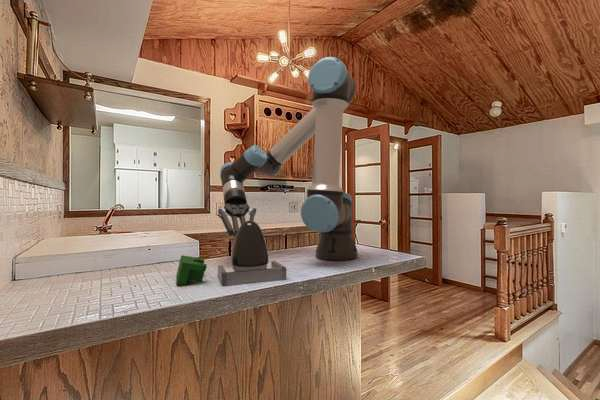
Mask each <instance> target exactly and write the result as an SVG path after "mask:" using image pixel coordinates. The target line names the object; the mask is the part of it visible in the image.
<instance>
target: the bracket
mask: <svg viewBox="0 0 600 400" xmlns="http://www.w3.org/2000/svg"><path fill="white" fill-rule="evenodd" d="M270 263H271V265H270V266H271V267H270V268H269V267H267V268H266V269H256V270H245V271H234V270H233V271H226V269H225V268H224V266H223V265H221V264H220V265H217V277H218V280H219V282H220V284H221V286H222V287H225V286H226V287H227V286H236V285H245V284H254V283H256V284H257V283H262V282H263V283H264V282H273V281H282V280H283V281H285V280H287V267H286V266H284V265H283V264H281V263H280V262H278V261H277V260H271V261H270Z"/></svg>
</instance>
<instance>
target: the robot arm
mask: <svg viewBox="0 0 600 400" xmlns="http://www.w3.org/2000/svg"><path fill="white" fill-rule="evenodd" d="M307 79H308V81H307V82H308V84H309V87H310V89H311V91H312V99H311V106H312V108H311V109H310V110H309V111H308V112H307V113H306V114H305V115H304V116H303V117H302V118H301V119H300V120H299V121H298V122H297V123H296V124H295V125H294V126H293V127H292V128H291V129H289V131H288V132H287V133H286V134H284V136H283V137H281V139H279V140H278V141H277V143H275V145H273V147H271V148H270V150H269V151H267V152H265V151H264V149H262V148H261V147H260V146H259V145H256V144H254V145H251V146H250V147H249V148H247V149H246V150H245V151H244V152H243V153H242V154H241V155H240V156H239V157H238V158H237V159H235V160H234V161H233V162H232V161H228V162H226V163H223V164H222V165H221V166H220V172H219V173H220V176H219V177H220V181H221V186H222V187H221V189H222V195H223V203H224V206H223V208H219V209H217V216H218V217H219V218H220V219H221V222H222V224H223V225H224V228H225V230H226V232H227V234H228V235H229V236H233V238H234V239H235V238H236V234H237V232H238V230H239V228H240V226H241V225H242V224H243V223H244V222H246V221H247V220H246V215H247V214H248V215H249V219H248V221H254V220H255V216H256V213H257V208H255V207H253V208H251V207H250V206H249V204H248V202H247V196H246V192H245V187H244V181H246V180H247V179H248V178H250V176H252V175H253V174H258V175H264V176H268V177H269V176H271V177H272V176H277V175H278V174H279V173H281V169H282V165H284V163H286V162H288V161H287V160H289V159H290V158H291V157H292V156H293V155H295V153H296V152H298V150H300V149H301V148H302V147H303V146H304V145H305V144H306V143H307V142H308V141H310V140H311V139H312V138H313V136H314V146H313V147H314V148H313V165H312V182H311V185H310V186H309V187H307V189H306V190H307V191H306V199H305V200H304V201H303V202H302V205H301V207H300V216H301V220H302V222H303V224H304V225H305V227H307V228H308V229H309V230H310V231H313V232H315V233H320V234H319V240H318V243H317V246H316V248H315V258H317V259H320V260H325V261H350V260H349V259H352V260H355V259H354V258H356V259H357V258H359V257H358V255H359V254H358V248H357V245H356V243H355V239H354V237H353V204H354V203H353V198H352V195H351V194H350V193H348V192H344V190H343V189H342V188H341V186H340V173H341V170H340V169H341V155H342V153H341V152H342V150H341V149H342V137H343V135H342V134H343V120H344V111H346V109H347V108H348V107H349V106H350V104H352V103H353V100H354V98H355V96H356V91H357V86H356V81H355V80H354V78H353V76H351V74H350V72H349V71H348V68H347V66H346V64H345V63H344V62H342V61H341V60H340V59H339V58H337V57H334V56H326V57H323V58H321V59H318V60H317V61H316V62H315V63H314V64H313V65H311V68H310V70H309V72H308V77H307ZM228 216H230V218H231V221H232V223H231V221H230V219H229V217H228ZM238 218H239V220H238ZM238 222H240V226H239V223H238ZM254 222H255V221H254Z"/></svg>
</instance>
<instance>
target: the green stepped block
mask: <svg viewBox="0 0 600 400" xmlns="http://www.w3.org/2000/svg"><path fill="white" fill-rule="evenodd" d="M207 266H208V265H207V263H205V259H204V258H202V257H194V256H190V255H183V254H181V256H180V259H179V263H178V267H177V272H176V277H175V278H176V285H180V286H181V285H182V286H186V285H187V283H188V281H193V282H199V283H201V282H203V279H204V275H205V272H206V270H207Z"/></svg>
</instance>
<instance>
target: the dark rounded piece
mask: <svg viewBox="0 0 600 400" xmlns="http://www.w3.org/2000/svg"><path fill="white" fill-rule="evenodd" d="M269 263H270V262H269V250H268V247H267V242H266V238H265V236H264V233H263V230H262V229H261V227H260V225H259V224H258V223H257V222H256V221H249V220H246V222H244V223H243V224H242V225H241V224H240V226H239V230H238V232H237V234H236V238H234V242H233V246H232V251H231V258H230V264H231V265H232V270H233V272H234V271H245V270H256V269H267V268H268V264H269Z"/></svg>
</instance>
